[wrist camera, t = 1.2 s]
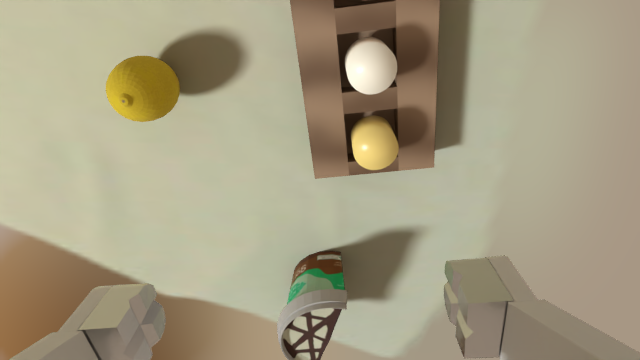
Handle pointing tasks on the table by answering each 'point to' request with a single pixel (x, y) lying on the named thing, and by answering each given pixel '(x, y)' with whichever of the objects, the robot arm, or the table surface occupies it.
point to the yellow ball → (373, 143)
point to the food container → (312, 306)
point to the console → (351, 105)
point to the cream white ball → (370, 65)
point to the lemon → (142, 88)
